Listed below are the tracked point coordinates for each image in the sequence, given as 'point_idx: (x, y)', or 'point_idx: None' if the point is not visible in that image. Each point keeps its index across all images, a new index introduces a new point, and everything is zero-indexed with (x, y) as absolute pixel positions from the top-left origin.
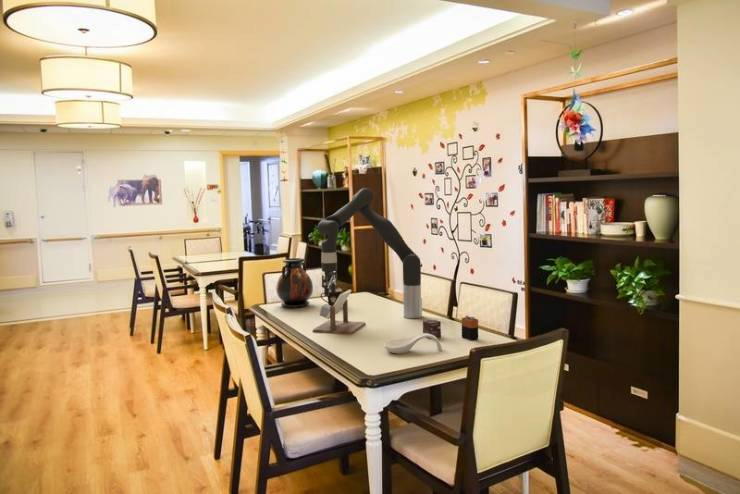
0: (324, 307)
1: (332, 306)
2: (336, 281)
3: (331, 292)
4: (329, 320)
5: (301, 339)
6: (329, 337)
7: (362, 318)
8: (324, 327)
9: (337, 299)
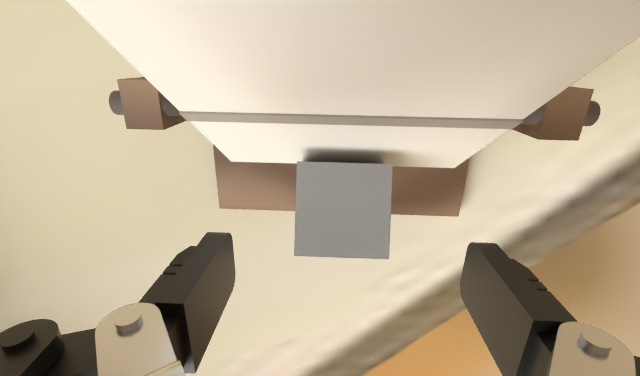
0: (388, 231)
1: (573, 111)
2: (30, 362)
3: (233, 279)
4: (224, 199)
5: (618, 209)
6: None
7: (38, 21)
8: (401, 167)
9: (598, 58)
